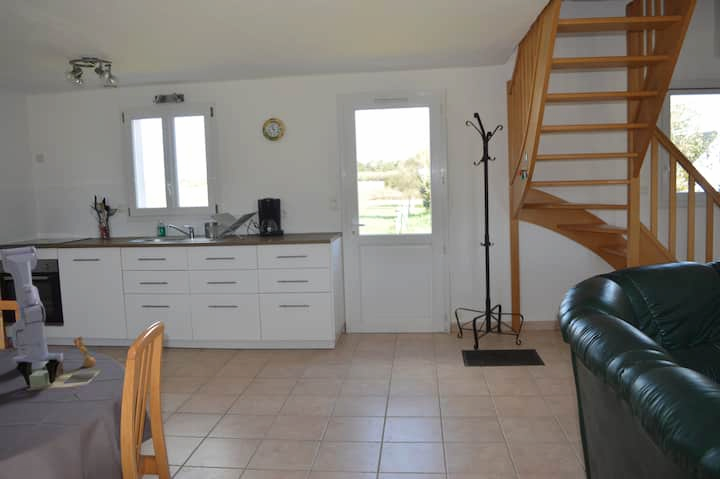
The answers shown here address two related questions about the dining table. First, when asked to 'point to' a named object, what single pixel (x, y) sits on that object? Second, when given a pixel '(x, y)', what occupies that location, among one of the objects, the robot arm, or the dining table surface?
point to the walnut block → (59, 370)
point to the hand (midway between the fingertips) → (41, 383)
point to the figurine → (89, 360)
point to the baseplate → (72, 379)
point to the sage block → (39, 379)
